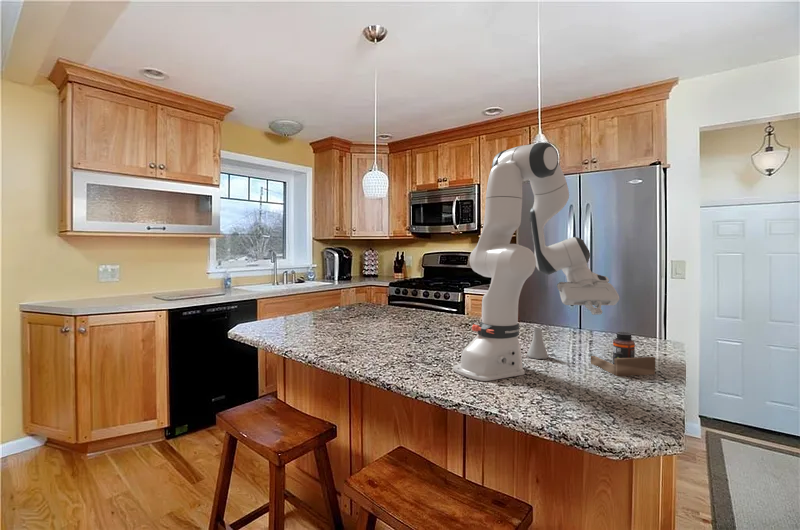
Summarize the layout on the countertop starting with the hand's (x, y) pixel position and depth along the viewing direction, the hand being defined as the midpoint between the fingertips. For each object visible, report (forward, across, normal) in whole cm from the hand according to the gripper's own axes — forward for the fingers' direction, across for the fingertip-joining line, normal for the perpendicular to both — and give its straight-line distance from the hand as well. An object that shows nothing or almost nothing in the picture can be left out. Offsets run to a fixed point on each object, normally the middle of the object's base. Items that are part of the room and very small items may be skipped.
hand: (597, 313), depth 135 cm
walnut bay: (+19, +1, +2) cm, 19 cm away
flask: (+8, -19, +14) cm, 25 cm away
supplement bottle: (+20, +1, +2) cm, 20 cm away
